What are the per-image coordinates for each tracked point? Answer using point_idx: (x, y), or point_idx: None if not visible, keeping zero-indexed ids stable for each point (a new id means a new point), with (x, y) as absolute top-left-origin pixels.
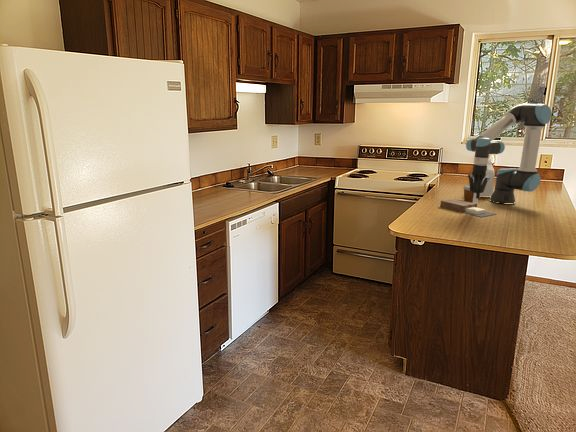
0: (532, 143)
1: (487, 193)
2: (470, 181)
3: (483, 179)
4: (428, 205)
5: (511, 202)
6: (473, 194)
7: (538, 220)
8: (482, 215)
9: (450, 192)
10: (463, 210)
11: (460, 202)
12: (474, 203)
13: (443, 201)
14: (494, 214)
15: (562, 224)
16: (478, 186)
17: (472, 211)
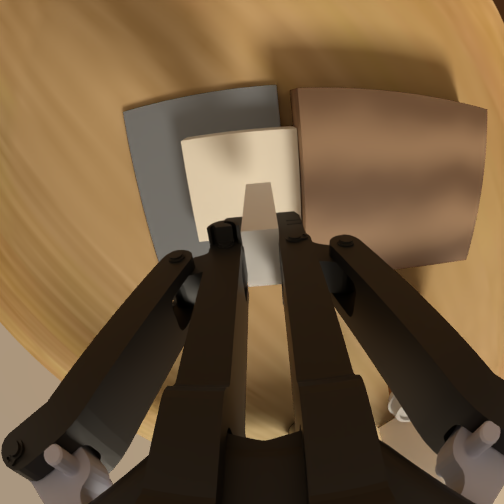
0: None
1: (395, 432)
2: (434, 342)
3: (423, 463)
4: (498, 83)
5: (290, 433)
6: (289, 229)
7: (62, 332)
8: (146, 147)
9: (492, 370)
10: (293, 104)
11: (397, 192)
12: (247, 185)
13: (471, 105)
14: (156, 253)
15: (30, 342)
16: (203, 309)
17: (226, 132)
